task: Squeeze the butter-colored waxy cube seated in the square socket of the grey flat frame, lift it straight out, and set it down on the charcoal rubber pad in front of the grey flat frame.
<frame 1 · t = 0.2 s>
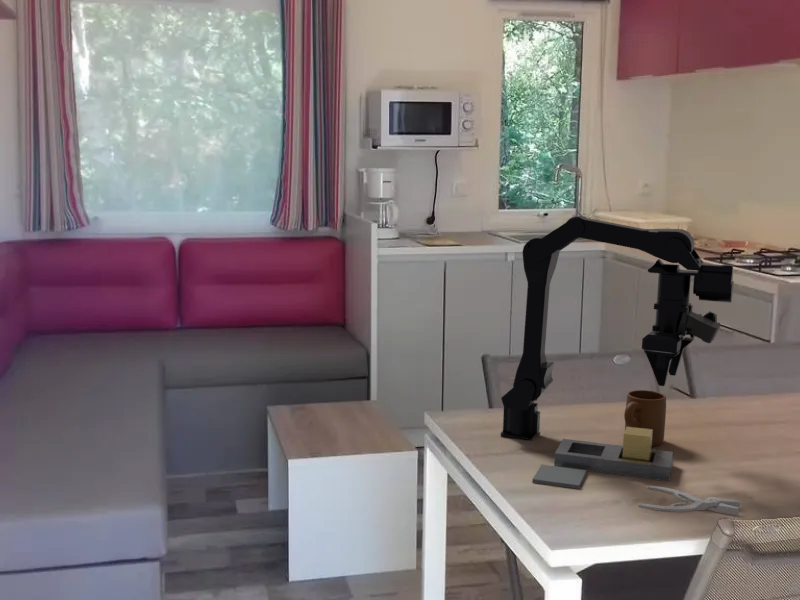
hand: (667, 380, 177), 14 cm above the table, fingers open, 9 cm apart
pliers: (689, 507, 155), on the table
grey flat frame: (613, 465, 172), on the table
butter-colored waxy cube: (636, 468, 171), resting in grey flat frame
mug: (638, 444, 185), on the table
pad: (559, 477, 166), on the table
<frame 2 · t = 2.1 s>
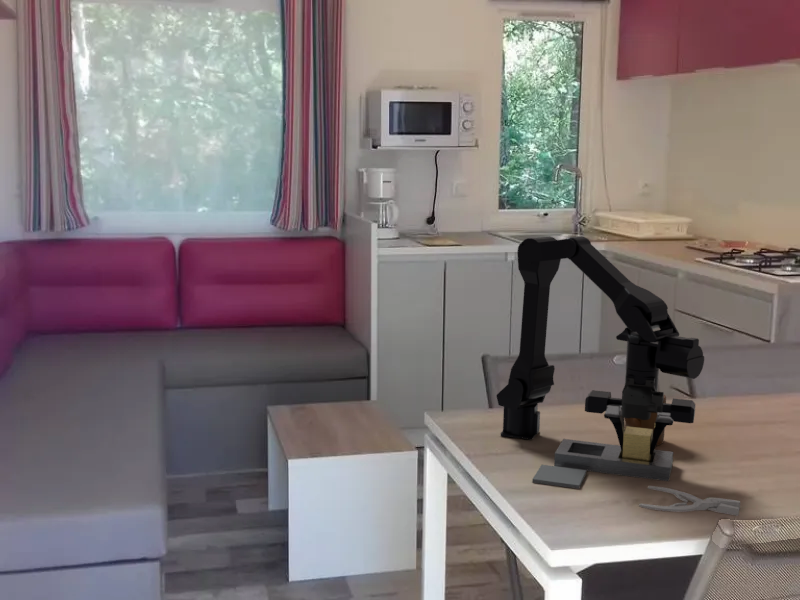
hand: (637, 452, 171), 3 cm above the table, fingers closed on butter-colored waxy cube, 5 cm apart
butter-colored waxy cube: (636, 468, 171), resting in grey flat frame, touching gripper
everything else where it was.
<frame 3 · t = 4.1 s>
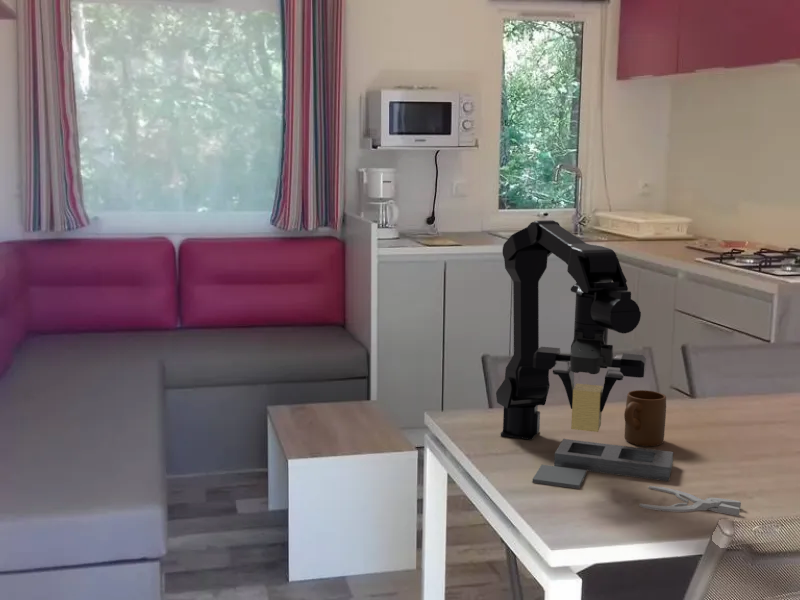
hand: (586, 409, 165), 12 cm above the table, fingers closed on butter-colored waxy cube, 5 cm apart
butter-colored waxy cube: (586, 426, 166), point 9 cm above the table, touching gripper
everything else where it was.
when the fingers open (5 cm above the table, at t = 6.1 s): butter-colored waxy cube drops 1 cm, resting on pad.
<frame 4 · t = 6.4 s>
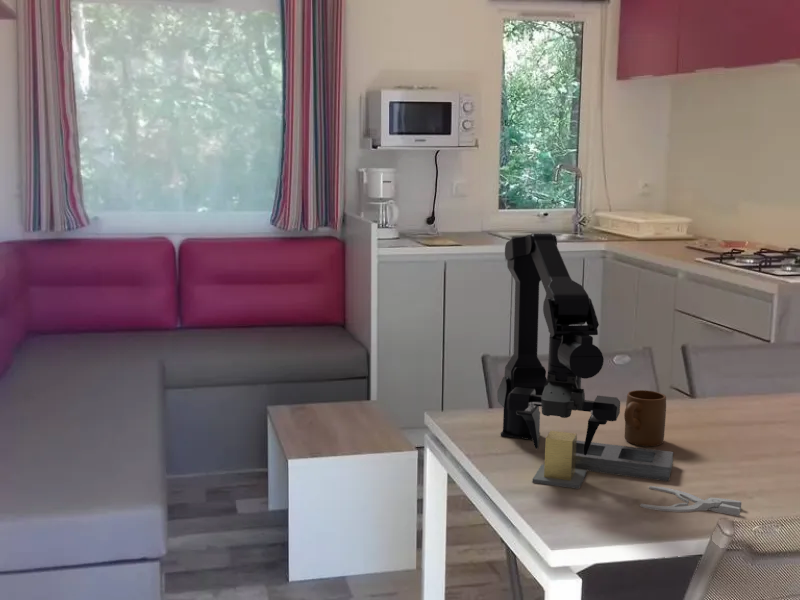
hand: (560, 451, 165), 5 cm above the table, fingers open, 8 cm apart
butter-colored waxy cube: (559, 474, 166), point 1 cm above the table, touching pad
everything else where it was.
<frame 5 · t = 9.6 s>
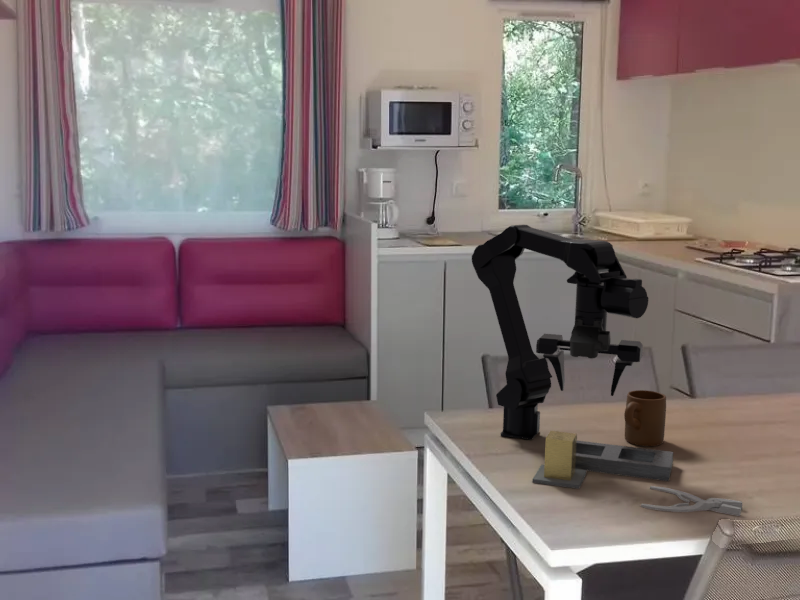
hand: (587, 392, 176), 12 cm above the table, fingers open, 9 cm apart
nothing on the table moved.
at the end: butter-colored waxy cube inside the target area on the pad (0.0 cm from its centre), point 0.6 cm above the pad's base; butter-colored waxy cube tilted 0°; the gripper is holding nothing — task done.
